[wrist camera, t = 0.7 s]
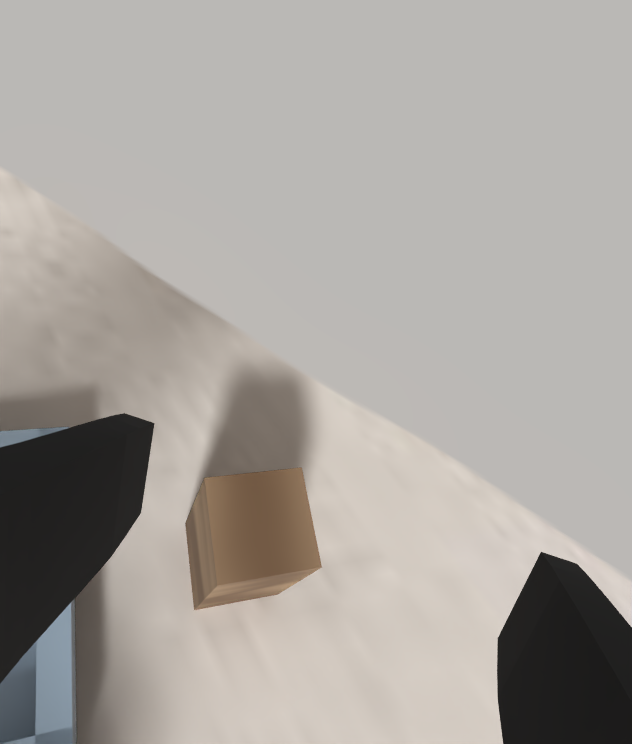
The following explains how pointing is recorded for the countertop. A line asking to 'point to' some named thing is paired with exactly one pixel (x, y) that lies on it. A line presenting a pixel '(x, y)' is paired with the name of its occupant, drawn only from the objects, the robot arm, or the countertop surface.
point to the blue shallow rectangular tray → (41, 670)
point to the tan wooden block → (250, 537)
